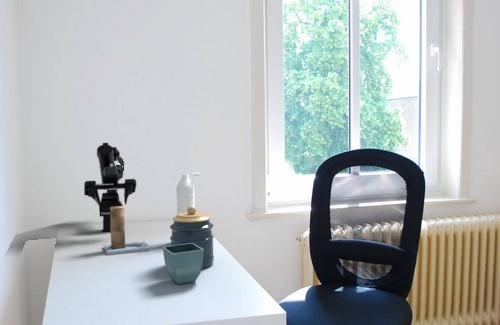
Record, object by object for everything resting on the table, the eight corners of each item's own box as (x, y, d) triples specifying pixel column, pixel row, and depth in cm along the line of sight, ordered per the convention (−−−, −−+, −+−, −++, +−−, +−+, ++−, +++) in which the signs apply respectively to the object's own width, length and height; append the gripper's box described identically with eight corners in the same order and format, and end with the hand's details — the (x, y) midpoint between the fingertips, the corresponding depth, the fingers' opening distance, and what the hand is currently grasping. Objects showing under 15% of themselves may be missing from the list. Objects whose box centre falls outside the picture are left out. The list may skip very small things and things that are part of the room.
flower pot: (172, 288, 120) (172, 253, 119) (162, 279, 127) (161, 246, 127) (205, 282, 124) (204, 249, 123) (193, 274, 132) (192, 242, 131)
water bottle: (179, 244, 167) (178, 174, 166) (175, 240, 173) (174, 173, 172) (203, 242, 170) (202, 173, 169) (198, 238, 176) (197, 172, 175)
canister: (175, 272, 133) (174, 211, 132) (166, 261, 145) (165, 204, 144) (219, 267, 138) (218, 208, 137) (207, 257, 150) (206, 202, 149)
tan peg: (120, 247, 163) (118, 205, 163) (128, 249, 160) (126, 207, 160) (108, 249, 160) (107, 207, 159) (116, 251, 157) (115, 208, 156)
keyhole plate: (144, 243, 169) (144, 240, 169) (151, 250, 159) (151, 247, 159) (103, 247, 163) (103, 244, 163) (107, 255, 153) (107, 251, 153)
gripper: (83, 159, 173) (87, 192, 163) (135, 157, 180) (141, 189, 171) (82, 178, 180) (85, 211, 171) (131, 176, 188) (137, 207, 179)
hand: (113, 204), depth 173 cm, fingers open, 9 cm apart
